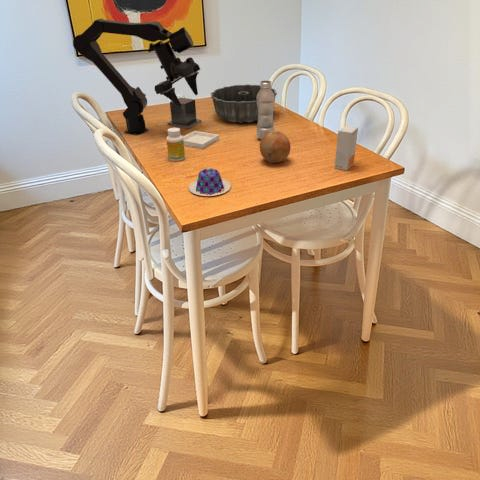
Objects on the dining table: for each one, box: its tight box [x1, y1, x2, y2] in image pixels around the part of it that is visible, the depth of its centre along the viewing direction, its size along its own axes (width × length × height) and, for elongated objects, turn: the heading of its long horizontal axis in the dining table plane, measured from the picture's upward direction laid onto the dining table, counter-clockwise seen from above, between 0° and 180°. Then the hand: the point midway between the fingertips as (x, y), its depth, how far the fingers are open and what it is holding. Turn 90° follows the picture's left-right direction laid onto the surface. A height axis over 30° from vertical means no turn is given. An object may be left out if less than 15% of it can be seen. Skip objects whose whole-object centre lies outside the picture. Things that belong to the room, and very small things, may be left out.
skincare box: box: [334, 125, 359, 171], centre depth 138 cm, size 6×4×12 cm
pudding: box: [188, 168, 232, 197], centre depth 129 cm, size 12×12×5 cm
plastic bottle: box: [255, 80, 276, 141], centre depth 158 cm, size 6×7×20 cm
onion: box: [259, 130, 291, 164], centre depth 144 cm, size 10×10×10 cm
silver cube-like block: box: [166, 97, 202, 129], centre depth 179 cm, size 10×9×9 cm
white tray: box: [182, 130, 220, 150], centre depth 162 cm, size 11×11×2 cm
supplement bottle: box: [166, 127, 186, 162], centre depth 148 cm, size 5×5×10 cm
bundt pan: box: [210, 84, 278, 124], centre depth 184 cm, size 26×26×10 cm
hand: (188, 100), depth 166 cm, fingers open, 9 cm apart
